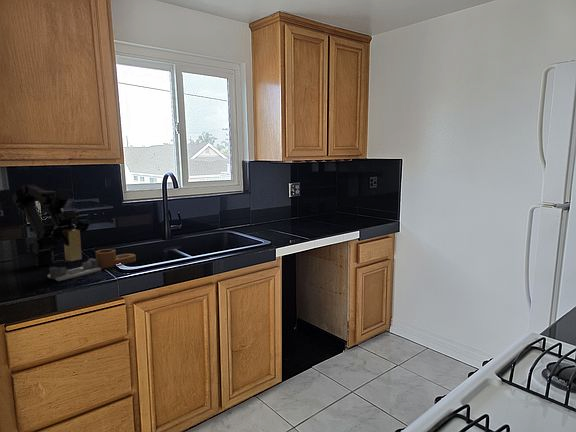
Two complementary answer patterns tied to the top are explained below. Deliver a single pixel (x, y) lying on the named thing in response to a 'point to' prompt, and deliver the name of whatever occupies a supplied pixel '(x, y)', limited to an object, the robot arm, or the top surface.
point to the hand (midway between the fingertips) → (74, 244)
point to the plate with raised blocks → (74, 270)
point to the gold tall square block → (72, 245)
